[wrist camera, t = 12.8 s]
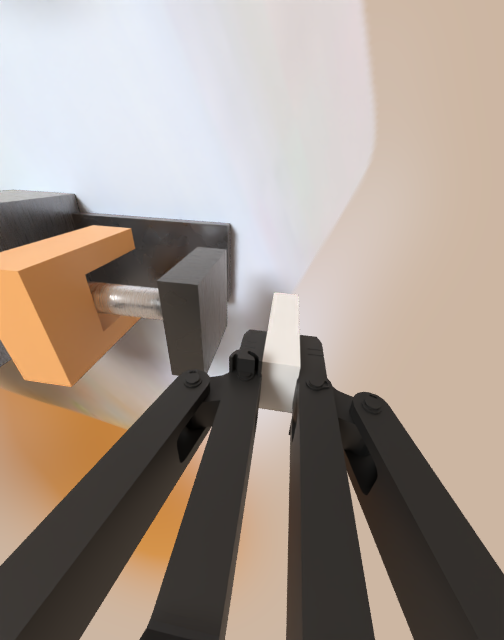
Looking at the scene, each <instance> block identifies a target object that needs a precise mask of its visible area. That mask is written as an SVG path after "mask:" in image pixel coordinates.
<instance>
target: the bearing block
mask: <svg viewBox="0 0 504 640" xmlns="http://www.w3.org/2000/svg"><path fill="white" fill-rule="evenodd" d="M92 225H97V226H109V227H122V228H131V230H132V235H133V240H134V245H135V249H134V250H132V251H130V252H128V253H126V254H124V255H122V256H120V257H118V258H116V259H114V260H112V261H111V262H109V263H107V264H105V265H103V266H101V267H99V268H97V269H95V270H93V271H91V272H89V273H87V274H86V275H85V276H86V279H87V281H92V282H102V283H112V284H122V285H131V286H141V287H151V288H158V285H157V280H158V279H160V278H161V277H162V276H163V275H164V274H166V273H167V272H168V271H169V270H170V269H172V268H173V267H174V266H175V265H176V264H178V263H179V262H180V261H181V260H182V259H184V258H185V257H186V256H187V255H188V254H190V253H191V252H192V251H193V250H194V249H196V248H197V247H205V248H217V249H227V301H228V300H229V298H230V223H217V222H204V221H191V220H177V219H164V218H151V217H137V216H124V215H111V214H97V213H84V212H79V208H78V205H77V201H76V198H75V194H69V193H54V192H39V191H24V190H3V191H0V252H3V251H6V250H10V249H13V248H17V247H20V246H23V245H27V244H30V243H34V242H37V241H41V240H44V239H48V238H51V237H54V236H58V235H61V234H65V233H68V232H72V231H75V230H78V229H82V228H85V227H89V226H92ZM11 359H12V358H11V357H10V355H9V353H8V352H7V350H6V348H5V346H4V345H3V343H2V341H1V340H0V367H1V366H2V365H4V364H5V363H7V362H8V361H9V360H11Z"/></svg>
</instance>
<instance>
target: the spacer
mask: <svg viewBox="0 0 504 640" xmlns="http://www.w3.org/2000/svg"><path fill="white" fill-rule="evenodd" d="M134 249H135V245H134V240H133V235H132V230H131V228H122V227H109V226H97V225H92V226H89V227H85V228H82V229H78V230H75V231H72V232H68V233H65V234H61V235H58V236H54V237H51V238H48V239H44V240H41V241H37V242H34V243H30V244H27V245H23V246H20V247H17V248H13V249H10V250H6V251H3V252H0V340H1V341H2V343H3V345H4V346H5V348H6V350H7V352H8V353H9V355H10V357H11V358H12V360H13V362H14V363H15V365H16V367H17V368H18V370H19V372H20V373H21V375H22V377H23V378H24V380H27V381H34V382H41V383H48V384H55V385H62V386H69V387H72V386H73V385H74V384H75V383H76V382H77V381H78V380H79V379H80V378H81V377H82V376H83V375H84V374H85V373H86V372H87V371H88V370H89V369H90V368H91V367H92V366H93V365H94V364H95V363H96V362H97V361H98V360H99V359H100V358H101V357H102V356H103V355H104V354H105V353H106V352H107V351H108V350H109V349H110V348H111V347H112V346H113V345H114V344H115V343H116V342H117V341H118V340H119V339H120V338H121V337H122V336H123V335H124V334H125V333H126V332H127V331H128V330H129V329H130V328H131V327H132V326H133V325H134V324H135V323H136V322H137V321H138V320H139V319H140V317H131V316H122V315H114V314H105V313H97V310H96V307H95V304H94V301H93V298H92V295H91V292H90V289H89V286H88V282H87V279H86V276H85V275H86V274H87V273H89V272H91V271H93V270H95V269H97V268H99V267H101V266H103V265H105V264H107V263H109V262H111V261H112V260H114V259H116V258H118V257H120V256H122V255H124V254H126V253H128V252H130V251H132V250H134Z"/></svg>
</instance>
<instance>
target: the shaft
mask: <svg viewBox="0 0 504 640" xmlns="http://www.w3.org/2000/svg"><path fill="white" fill-rule="evenodd" d="M87 282H88V286H89V289H90V292H91V295H92V298H93V301H94V304H95V307H96V310H97V313H105V314H114V315H122V316H131V317H140V318H149V319H157V320H163V322H164V328H165V334H166V340H167V346H168V352H169V358H170V364H171V371H172V375H178V376H179V375H181V374H182V373H183V372H185V371H188V370H193V369H198V370H202V371H204V372H206V373H208V370H209V368H210V365H211V363H212V360H213V358H214V356H215V353H216V351H217V348H218V346H219V344H220V341H221V339H222V336H223V334H224V331H225V329H226V327H227V249H217V248H205V247H197V248H196V249H194V250H193V251H192V252H191V253H190V254H188V255H187V256H186V257H185V258H184V259H182V260H181V261H180V262H179V263H178V264H176V265H175V266H174V267H173V268H172V269H170V270H169V271H168V272H167V273H166V274H164V275H163V276H162V277H161V278H160V279H158V280H157V285H158V288H151V287H141V286H131V285H122V284H112V283H102V282H92V281H87Z"/></svg>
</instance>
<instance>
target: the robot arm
mask: <svg viewBox="0 0 504 640" xmlns="http://www.w3.org/2000/svg"><path fill="white" fill-rule="evenodd" d="M298 297H299V295H295V294H286V293H276V292H274V296H273V302H272V307H271V313H270V319H269V325H268V331H267V332H265V331H257V330H249V331H248V332H246V333H245V334H244V337H243V340H242V343H241V347H240V350H236V351H235V352H233V353H232V354H231V355H230V357H229V373H227V374H225V375H222V376H216V377H209V376H208V374H207V373H206V372H204V371H202V370H198V369H193V370H188V371H185V372H183V373H182V374H181V375H179V376H178V377H177V378H176V379H175V380H174V382H173V383H172V384H171V385H170V386H169V387H168V388H167V389H166V390H165V391H164V392H163V393H162V394H161V395H160V396H159V397H158V399H157V400H156V401H155V402H154V403H153V404H152V405H151V406H150V407H149V408H148V409H147V410H146V411H145V412H144V413H143V415H142V416H141V417H140V418H139V419H138V420H137V421H136V422H135V423H134V424H133V425H132V426H131V427H130V428H129V429H128V431H127V432H126V433H125V434H124V435H123V436H122V437H121V438H120V439H119V440H118V441H117V442H116V443H115V444H114V445H113V447H112V448H111V449H110V450H109V451H108V452H107V453H106V454H105V455H104V456H103V457H102V458H101V459H100V460H99V461H98V463H97V464H96V465H95V466H94V467H93V468H92V469H91V470H90V471H89V472H88V473H87V474H86V475H85V476H84V477H83V478H82V480H81V481H80V482H79V483H78V484H77V485H76V486H75V487H74V488H73V489H72V490H71V491H70V492H69V493H68V495H67V496H66V497H65V498H64V499H63V500H62V501H61V502H60V503H59V504H58V505H57V506H56V507H55V508H54V509H53V510H52V512H51V513H50V514H49V515H48V516H47V517H46V518H45V519H44V520H43V521H42V522H41V523H40V524H39V526H37V528H36V529H35V530H34V531H33V532H32V533H31V534H30V535H29V536H28V537H27V539H25V540H24V541H23V542H22V544H21V545H20V546H19V547H18V548H17V549H16V550H15V551H14V552H13V553H12V554H11V555H10V556H9V558H7V559H6V561H5V562H4V563H3V564H2V565H1V566H0V640H79V639H80V637H81V636H82V634H83V633H84V631H85V629H86V628H87V626H88V625H89V623H90V621H91V620H92V618H93V617H94V615H95V613H96V612H97V610H98V609H99V607H100V605H101V604H102V602H103V601H104V599H105V597H106V596H107V594H108V592H109V591H110V589H111V588H112V586H113V584H114V583H115V581H116V580H117V578H118V576H119V575H120V573H121V572H122V570H123V568H124V566H125V565H126V563H127V562H128V560H129V559H130V557H131V555H132V554H133V552H134V551H135V549H136V547H137V545H138V544H139V543H140V541H141V539H142V538H143V536H144V535H145V533H146V531H147V530H148V528H149V526H150V525H151V523H152V522H153V520H154V518H155V517H156V515H157V514H158V512H159V510H160V509H161V507H162V505H163V504H164V502H165V501H166V499H167V498H168V496H169V494H170V493H171V491H172V490H173V488H174V486H175V485H176V483H177V481H178V480H179V478H180V477H181V475H182V473H183V472H184V470H185V469H186V467H187V465H188V464H189V462H190V461H191V459H192V457H193V456H194V454H195V452H196V451H197V449H198V448H199V446H200V444H201V443H202V441H203V440H204V438H205V436H206V435H207V433H208V431H209V430H210V428H211V426H212V429H211V432H210V435H209V438H208V441H207V444H206V447H205V450H204V454H203V457H202V460H201V463H200V466H199V469H198V472H197V476H196V479H195V482H194V485H193V488H192V491H191V494H190V498H189V501H188V504H187V507H186V510H185V513H184V516H183V520H182V523H181V526H180V529H179V532H178V535H177V539H176V542H175V545H174V548H173V551H172V554H171V557H170V560H169V563H168V567H167V570H166V573H165V576H164V579H163V582H162V585H161V588H160V592H159V595H158V598H157V601H156V604H155V607H154V610H153V613H152V616H151V619H150V621H149V624H148V626H147V629H146V630H145V632H144V633H143V635H142V637H141V638H140V640H225V634H226V627H227V621H228V614H229V607H230V600H231V594H232V587H233V580H234V573H235V567H236V560H237V553H238V546H239V540H240V533H241V526H242V519H243V512H244V506H245V499H246V492H247V486H248V479H249V472H250V465H251V458H252V452H253V445H254V438H255V432H256V425H257V418H258V417H257V416H258V408H262V409H269V410H275V411H282V412H288V413H292V420H291V425H290V430H289V435H290V436H291V437H290V483H289V532H288V533H289V535H288V579H287V580H288V581H287V629H286V640H375V638H374V631H373V625H372V619H371V613H370V607H369V602H368V595H367V589H366V583H365V577H364V572H363V566H362V559H361V553H360V547H359V541H358V535H357V530H356V524H355V518H354V512H353V506H352V500H351V494H350V488H349V482H348V476H347V472H348V475H349V477H350V480H351V482H352V485H353V488H354V490H355V493H356V495H357V497H358V500H359V502H360V505H361V508H362V510H363V513H364V515H365V518H366V520H367V523H368V525H369V528H370V530H371V533H372V535H373V538H374V540H375V543H376V545H377V548H378V550H379V553H380V555H381V558H382V560H383V563H384V565H385V568H386V570H387V573H388V576H389V578H390V580H391V583H392V585H393V588H394V591H395V593H396V595H397V598H398V601H399V603H400V606H401V608H402V611H403V613H404V616H405V618H406V621H407V623H408V626H409V628H410V631H411V633H412V636H413V638H414V640H504V574H503V573H502V571H501V569H500V568H499V566H498V565H497V564H496V562H495V561H494V559H493V558H492V556H491V555H490V553H489V552H488V550H487V549H486V547H485V546H484V545H483V543H482V542H481V540H480V539H479V537H478V536H477V535H476V533H475V531H474V530H473V528H472V527H471V526H470V524H469V523H468V521H467V519H466V518H465V517H464V515H463V514H462V512H461V511H460V509H459V508H458V506H457V505H456V503H455V502H454V500H453V499H452V498H451V496H450V495H449V493H448V492H447V490H446V489H445V487H444V486H443V485H442V483H441V482H440V480H439V478H438V477H437V475H436V474H435V472H434V471H433V470H432V468H431V467H430V465H429V464H428V462H427V461H426V459H425V458H424V456H423V455H422V453H421V452H420V450H419V449H418V448H417V446H416V445H415V443H414V442H413V440H412V439H411V437H410V436H409V434H408V433H407V431H406V430H405V428H404V427H403V425H402V424H401V423H400V421H399V420H398V418H397V417H396V415H395V414H394V412H393V411H392V409H391V408H390V406H389V405H388V404H387V403H386V402H385V401H384V400H383V399H382V398H380V397H379V396H377V395H375V394H372V393H369V392H360V393H357V394H356V395H355V396H354V397H352V396H349V395H347V394H344V393H342V392H340V391H338V390H336V389H335V388H334V387H333V386H332V384H331V382H330V381H329V380H328V379H327V375H326V369H325V362H324V357H323V356H324V355H323V348H322V343H321V342H320V340H319V339H318V338H317V337H312V336H303V335H300V331H299V298H298Z"/></svg>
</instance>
